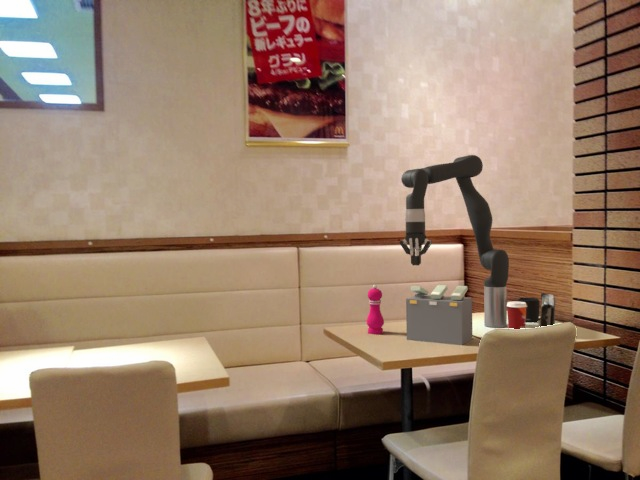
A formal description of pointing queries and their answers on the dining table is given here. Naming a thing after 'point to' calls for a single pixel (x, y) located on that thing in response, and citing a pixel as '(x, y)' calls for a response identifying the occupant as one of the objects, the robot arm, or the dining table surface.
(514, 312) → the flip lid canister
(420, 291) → the block
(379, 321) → the pepper mill
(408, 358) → the dining table surface
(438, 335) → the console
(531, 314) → the pen holder
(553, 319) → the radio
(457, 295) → the rocker
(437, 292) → the block
